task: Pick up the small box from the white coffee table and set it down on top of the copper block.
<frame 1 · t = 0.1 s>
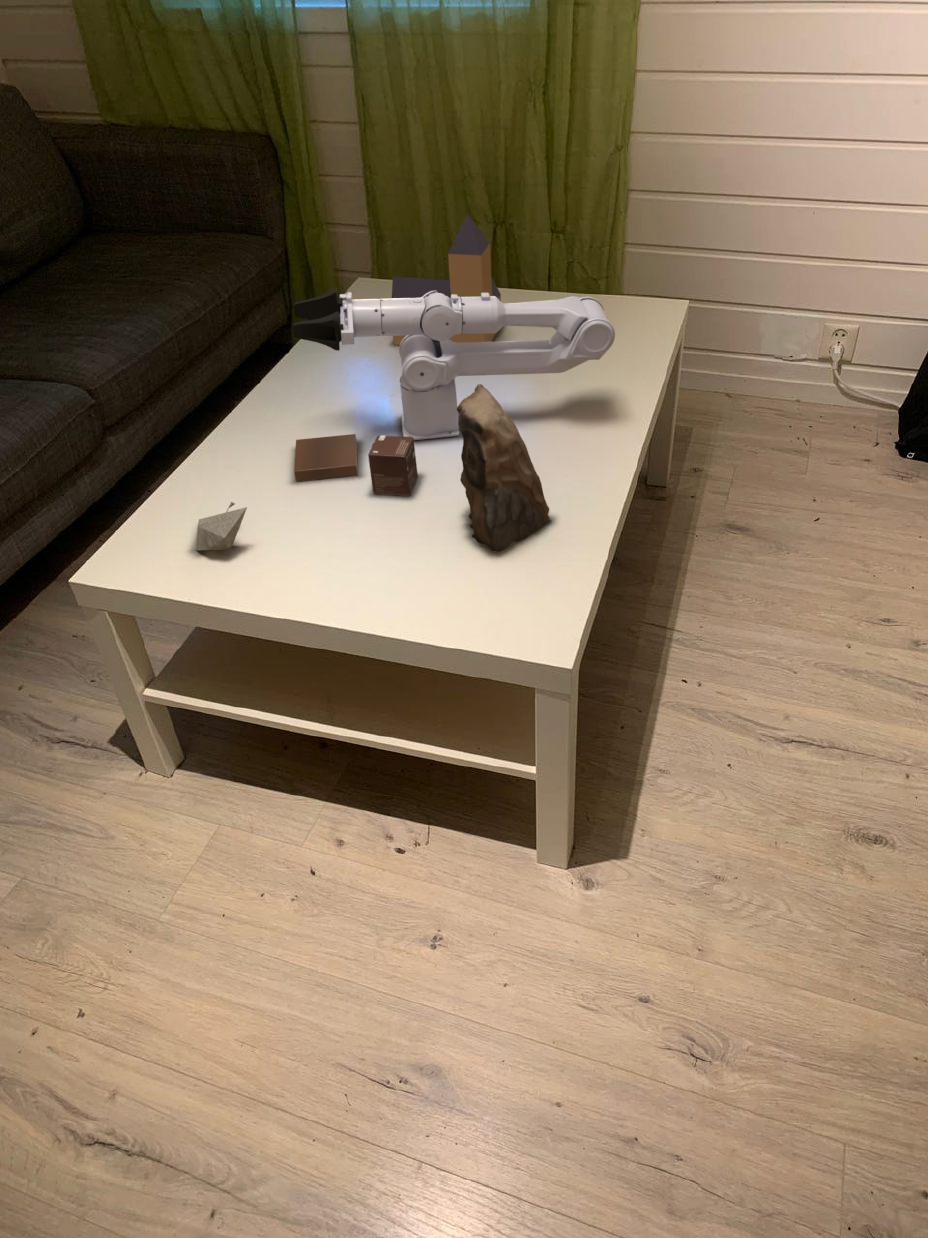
hand: (294, 320, 158), 22 cm above the table, tool horizontal, fingers open, 7 cm apart
copper block: (327, 462, 166), on the table
toy building blocks: (448, 335, 201), on the table
box: (395, 486, 160), on the table
brown rock: (506, 526, 150), on the table
paper boat: (226, 543, 151), on the table
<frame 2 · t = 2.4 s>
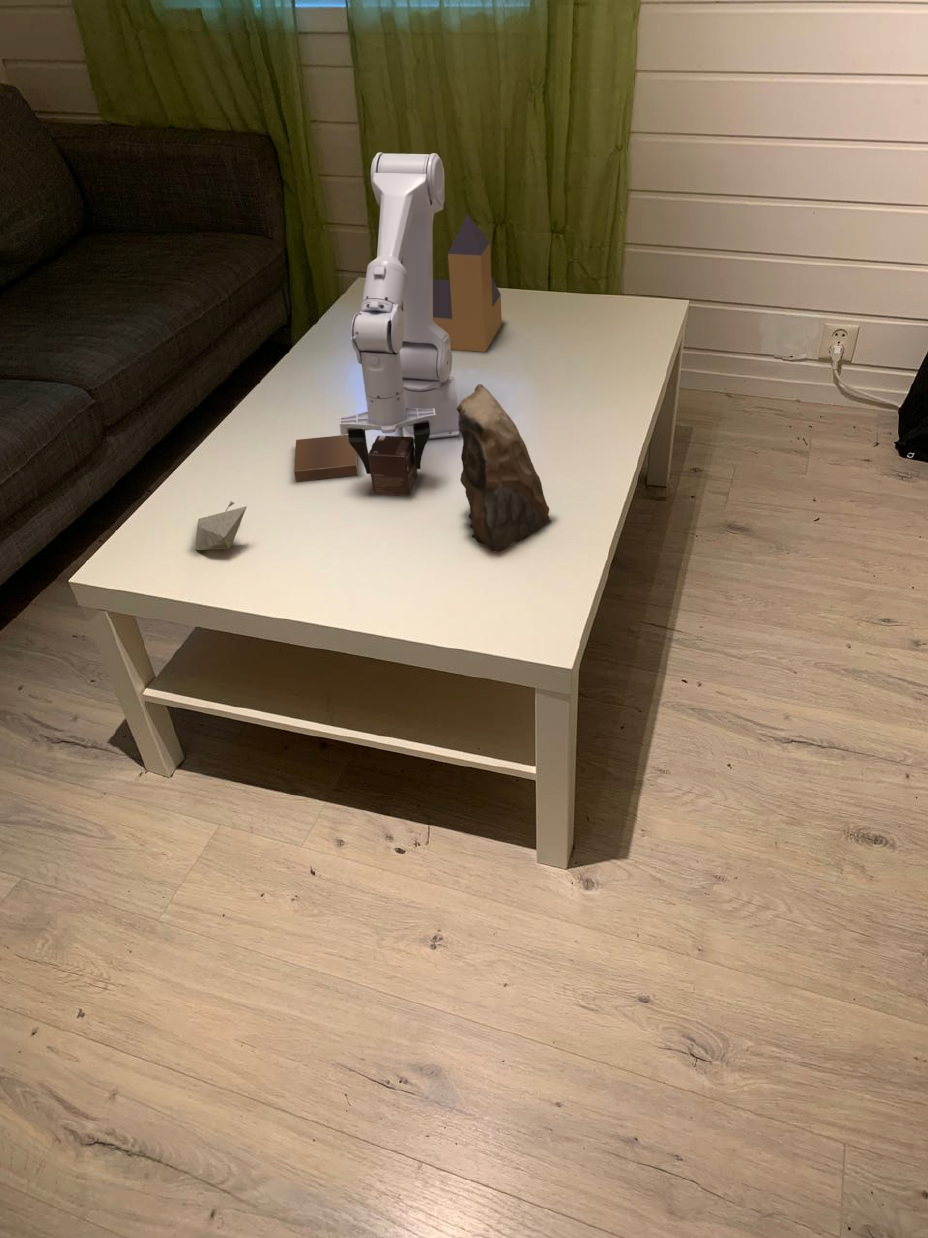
hand: (393, 468, 158), 3 cm above the table, tool pointing down, fingers open, 7 cm apart
box: (395, 486, 160), on the table, touching gripper
everything else where it was.
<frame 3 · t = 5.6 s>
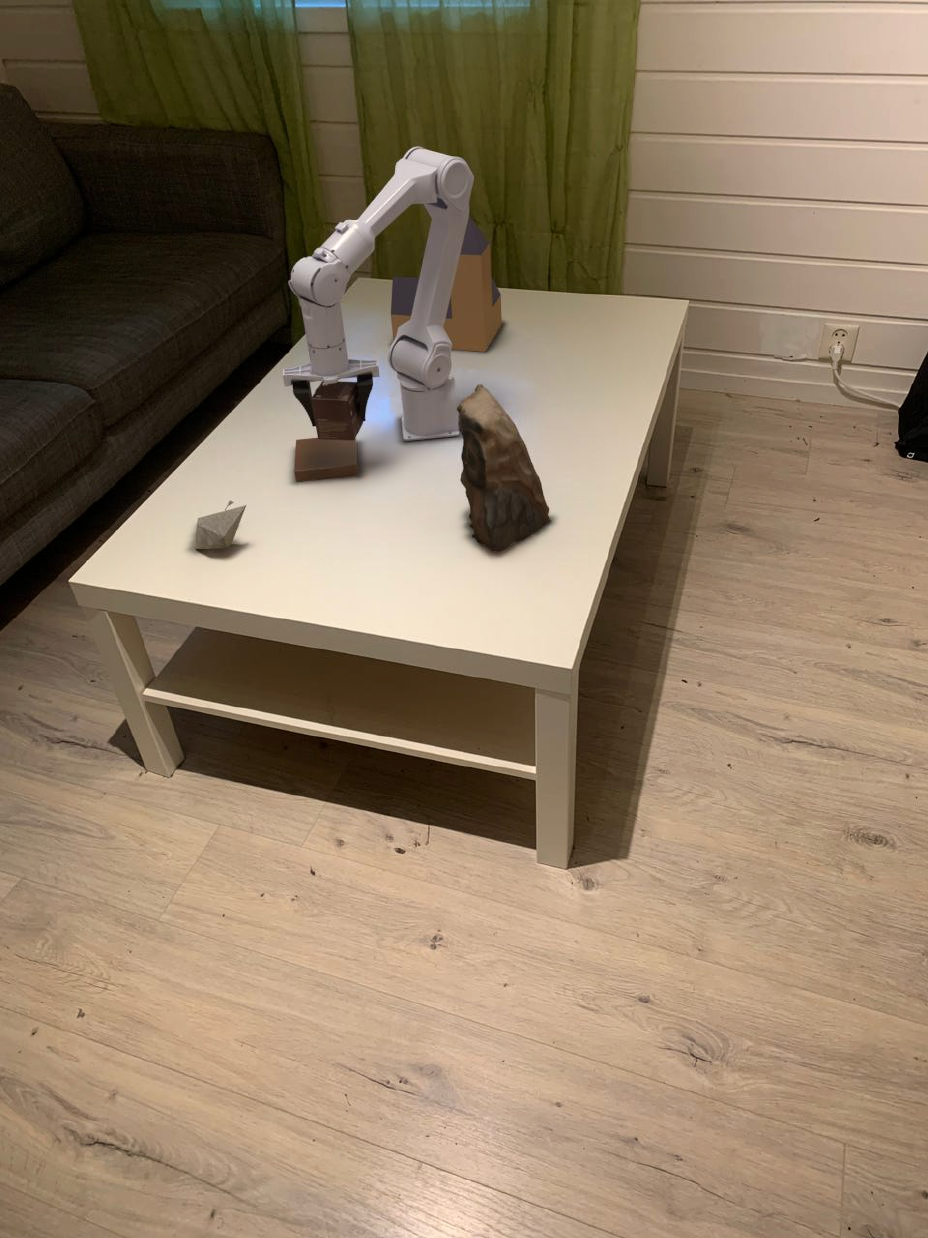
hand: (338, 420, 159), 9 cm above the table, tool pointing down, fingers closed on box, 7 cm apart
box: (340, 432, 160), point 7 cm above the table, touching gripper
everything else where it was.
when the fingers open (4 cm above the table, at t = 8.2 s): box stays where it is, resting on copper block.
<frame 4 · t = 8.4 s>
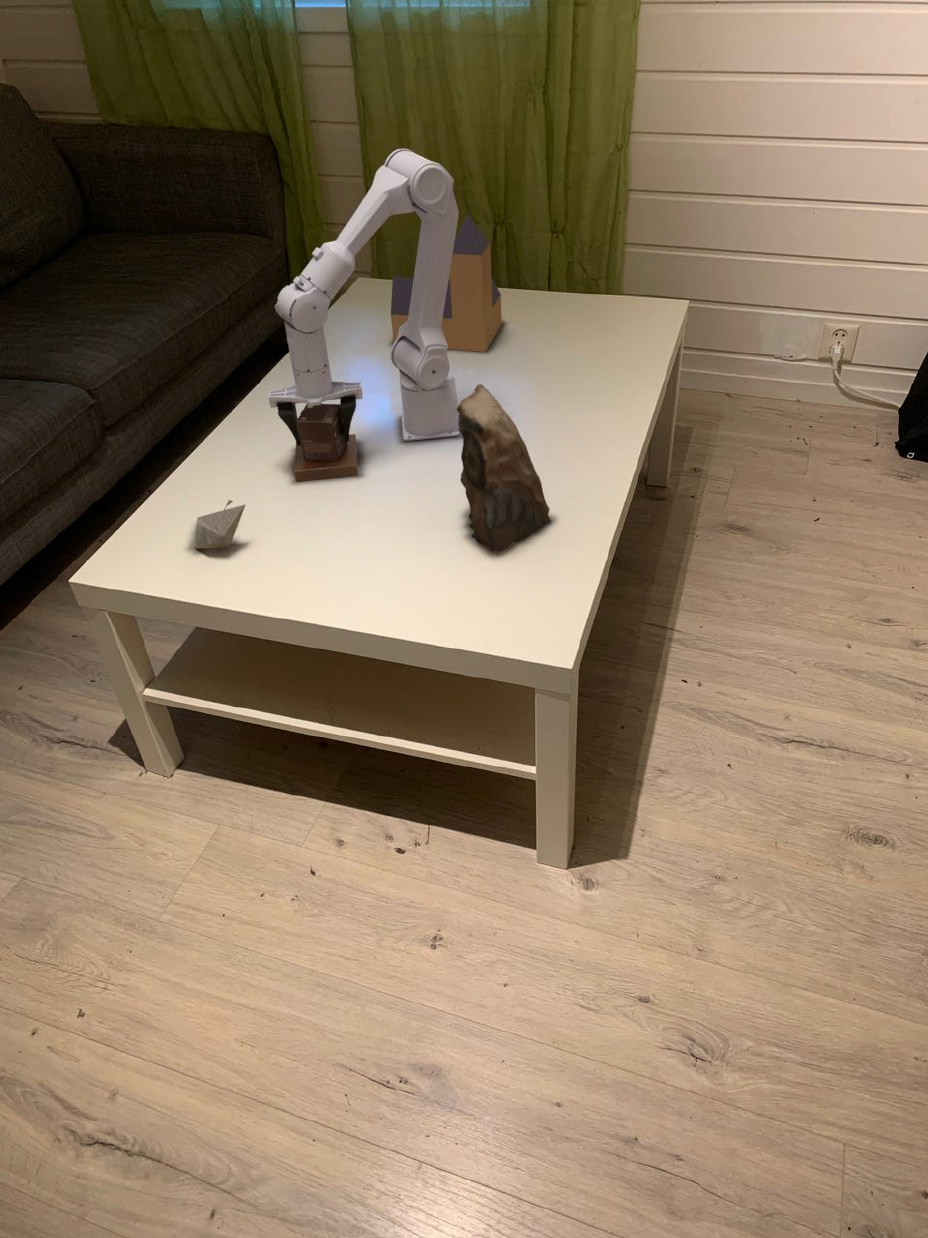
hand: (323, 440, 164), 4 cm above the table, tool pointing down, fingers open, 7 cm apart
box: (325, 453, 165), point 2 cm above the table, touching gripper, copper block
everything else where it was.
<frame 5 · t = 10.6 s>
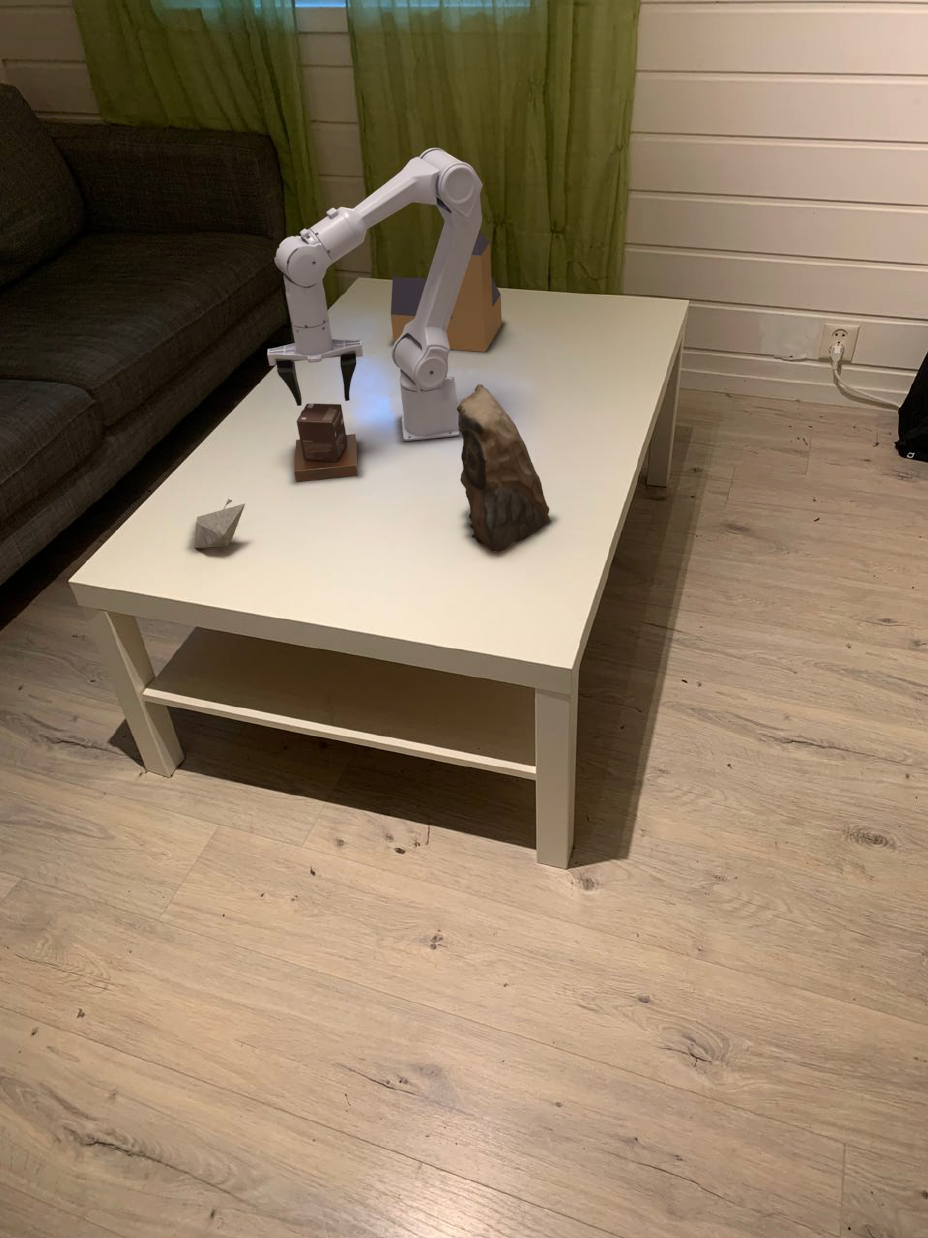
hand: (323, 400, 161), 10 cm above the table, tool pointing down, fingers open, 7 cm apart
box: (325, 452, 165), point 2 cm above the table, touching copper block
everything else where it was.
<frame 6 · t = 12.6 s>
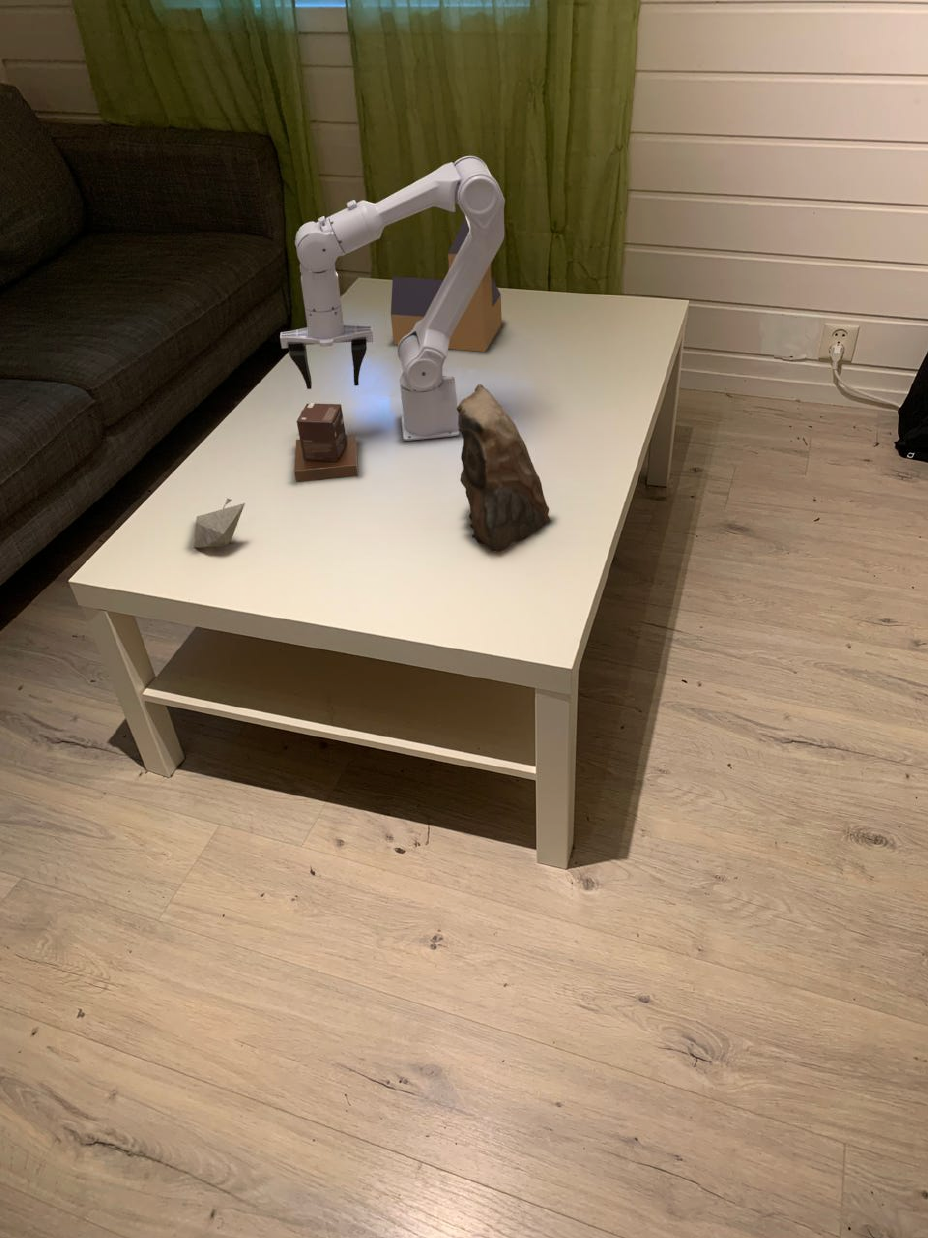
hand: (332, 384, 165), 10 cm above the table, tool pointing down, fingers open, 7 cm apart
at the end: box 0.1 cm off-centre on the copper block, point 1.8 cm above the copper block's base; box tilted 0°; the gripper is holding nothing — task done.
